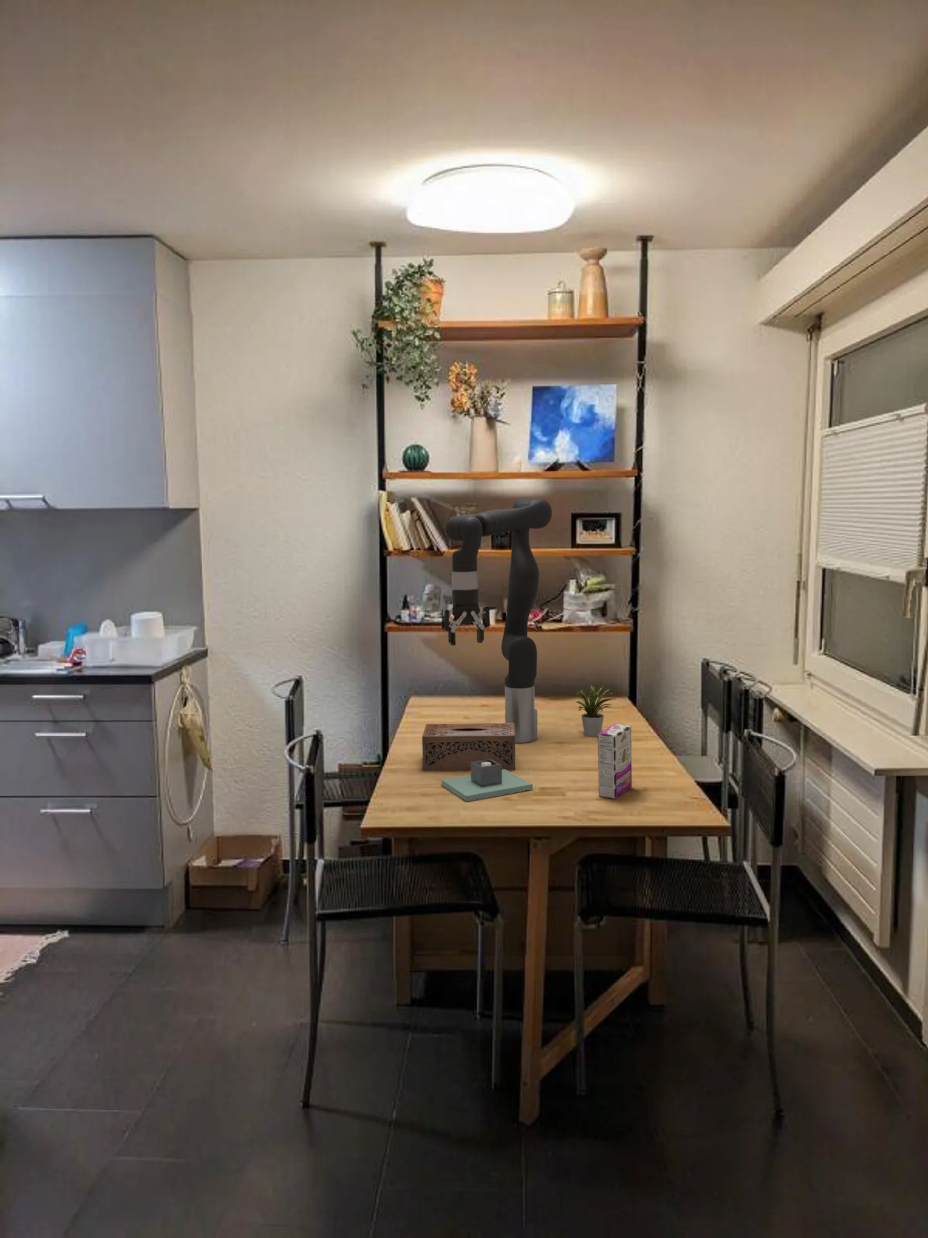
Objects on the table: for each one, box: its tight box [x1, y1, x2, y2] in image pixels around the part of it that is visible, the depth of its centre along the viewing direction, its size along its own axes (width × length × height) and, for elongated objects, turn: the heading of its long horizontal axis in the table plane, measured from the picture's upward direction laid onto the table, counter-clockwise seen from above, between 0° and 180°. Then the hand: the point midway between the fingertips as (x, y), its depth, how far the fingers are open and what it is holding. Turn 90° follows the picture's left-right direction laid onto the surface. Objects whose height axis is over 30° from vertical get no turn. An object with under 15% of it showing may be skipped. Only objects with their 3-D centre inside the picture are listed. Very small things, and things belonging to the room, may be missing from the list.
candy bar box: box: [597, 723, 633, 800], centre depth 222 cm, size 11×5×16 cm, turn 148°
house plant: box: [575, 683, 615, 738], centre depth 277 cm, size 14×14×16 cm
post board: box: [441, 762, 534, 802], centre depth 228 cm, size 19×15×6 cm
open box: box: [470, 759, 502, 787], centre depth 228 cm, size 6×6×5 cm
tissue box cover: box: [421, 722, 516, 771], centre depth 250 cm, size 26×14×10 cm, turn 88°
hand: (466, 643), depth 249 cm, fingers open, 8 cm apart
